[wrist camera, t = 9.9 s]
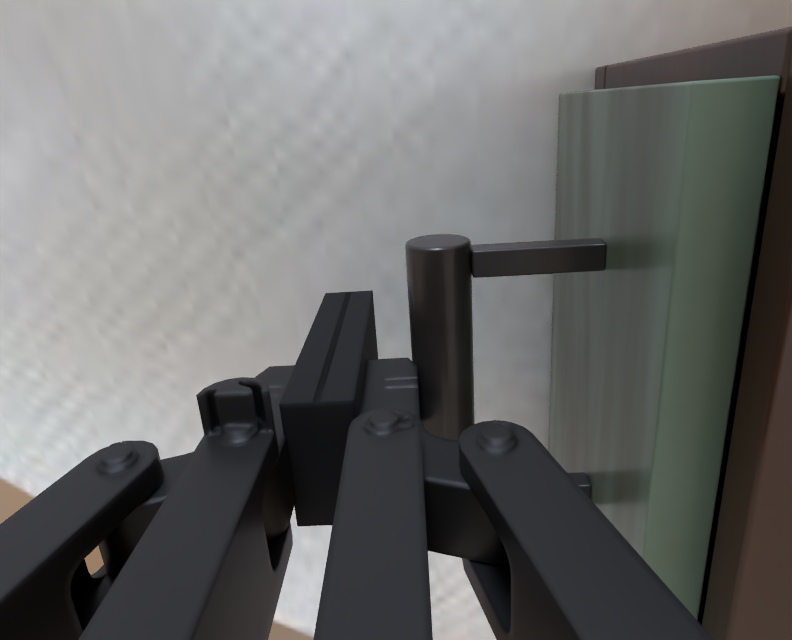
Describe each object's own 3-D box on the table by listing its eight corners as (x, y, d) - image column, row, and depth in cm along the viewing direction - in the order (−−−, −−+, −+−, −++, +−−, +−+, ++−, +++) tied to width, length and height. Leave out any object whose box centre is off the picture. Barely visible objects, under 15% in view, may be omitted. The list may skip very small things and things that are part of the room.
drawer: (424, 492, 20) (429, 720, 13) (401, 104, 16) (389, 101, 8) (963, 473, 19) (1313, 707, 12) (1099, 54, 15) (1798, 3, 7)
